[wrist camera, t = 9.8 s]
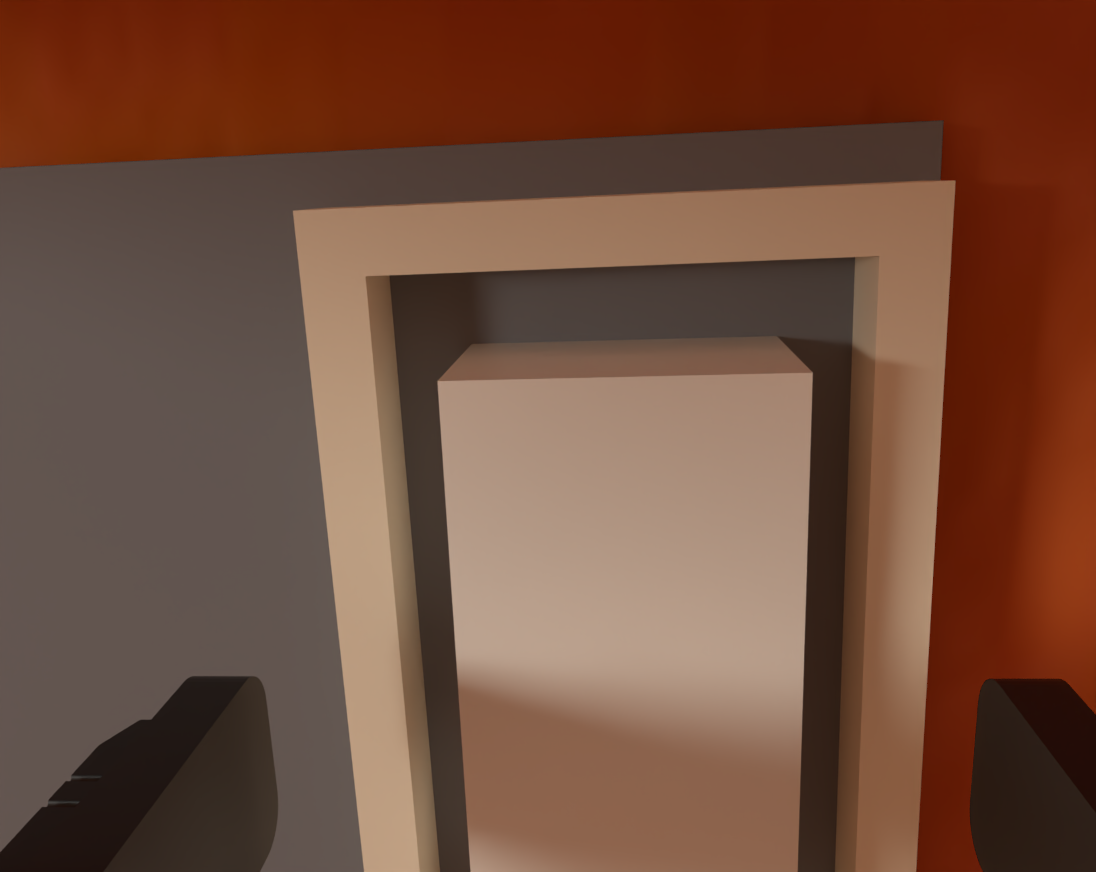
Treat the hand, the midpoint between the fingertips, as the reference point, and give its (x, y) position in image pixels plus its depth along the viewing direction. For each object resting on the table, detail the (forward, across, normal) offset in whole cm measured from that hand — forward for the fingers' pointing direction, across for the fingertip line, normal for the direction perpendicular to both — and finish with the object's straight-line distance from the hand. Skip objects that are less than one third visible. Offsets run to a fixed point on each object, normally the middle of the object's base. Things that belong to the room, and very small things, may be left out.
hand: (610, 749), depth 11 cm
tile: (+3, 0, 0) cm, 3 cm away
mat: (+4, +5, +2) cm, 7 cm away
